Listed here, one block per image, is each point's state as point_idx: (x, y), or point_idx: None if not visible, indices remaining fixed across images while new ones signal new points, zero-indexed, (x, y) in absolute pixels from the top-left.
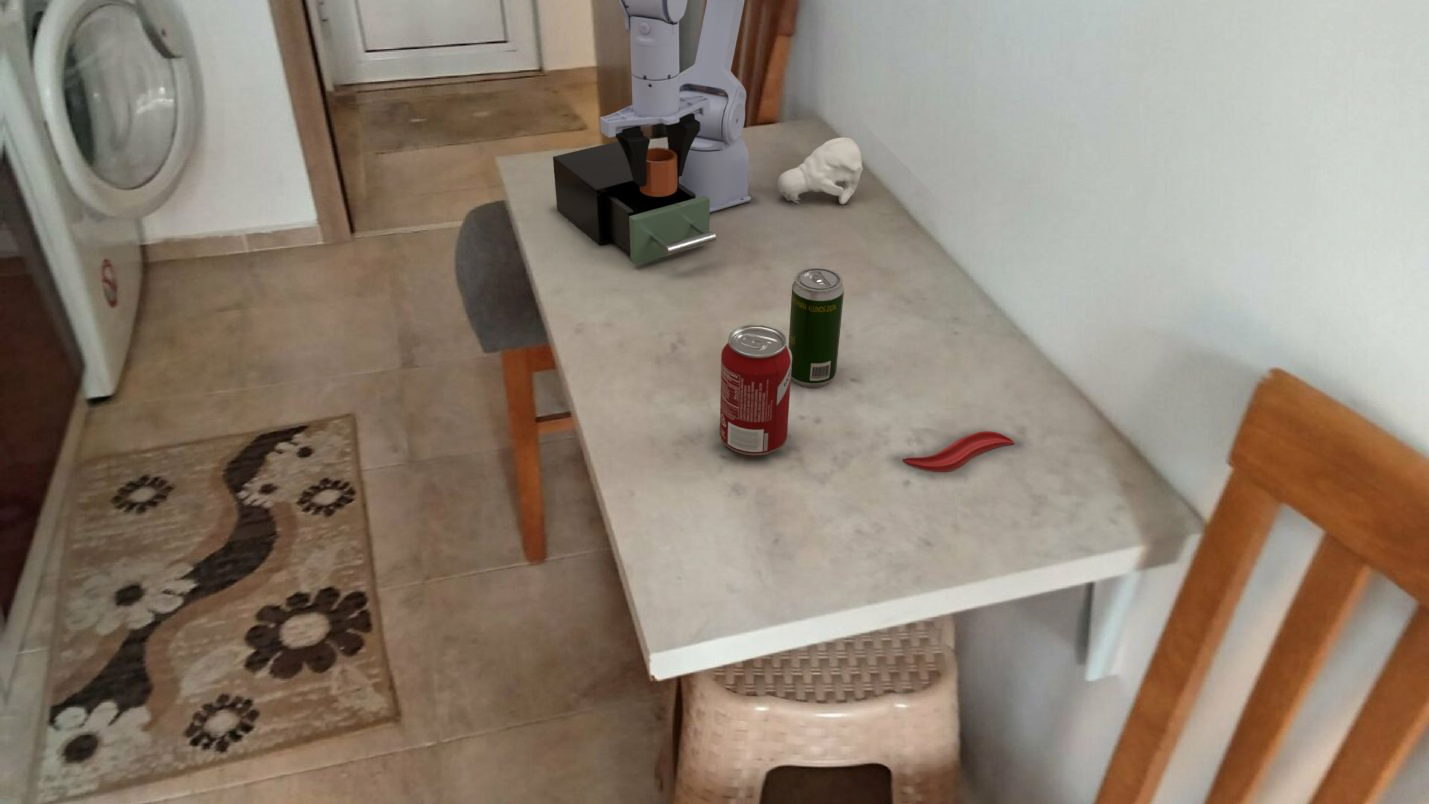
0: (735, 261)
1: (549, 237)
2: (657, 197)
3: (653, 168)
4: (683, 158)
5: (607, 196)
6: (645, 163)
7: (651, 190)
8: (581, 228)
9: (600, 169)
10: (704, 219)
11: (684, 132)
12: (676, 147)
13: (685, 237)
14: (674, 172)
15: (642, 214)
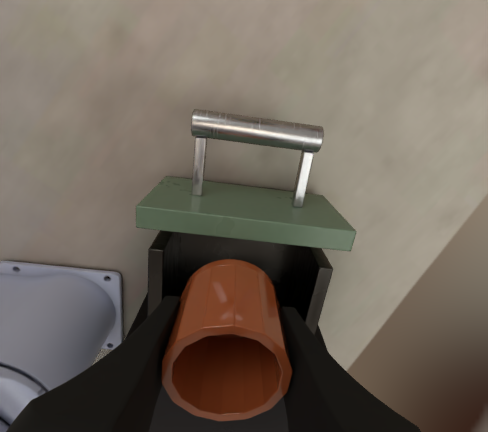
0: (155, 103)
1: (338, 343)
2: None
3: (276, 329)
4: (153, 327)
5: None
6: (305, 352)
7: (272, 288)
8: None
9: (263, 422)
10: (165, 192)
11: (122, 418)
12: (152, 378)
13: (217, 189)
14: (207, 295)
15: (322, 240)
